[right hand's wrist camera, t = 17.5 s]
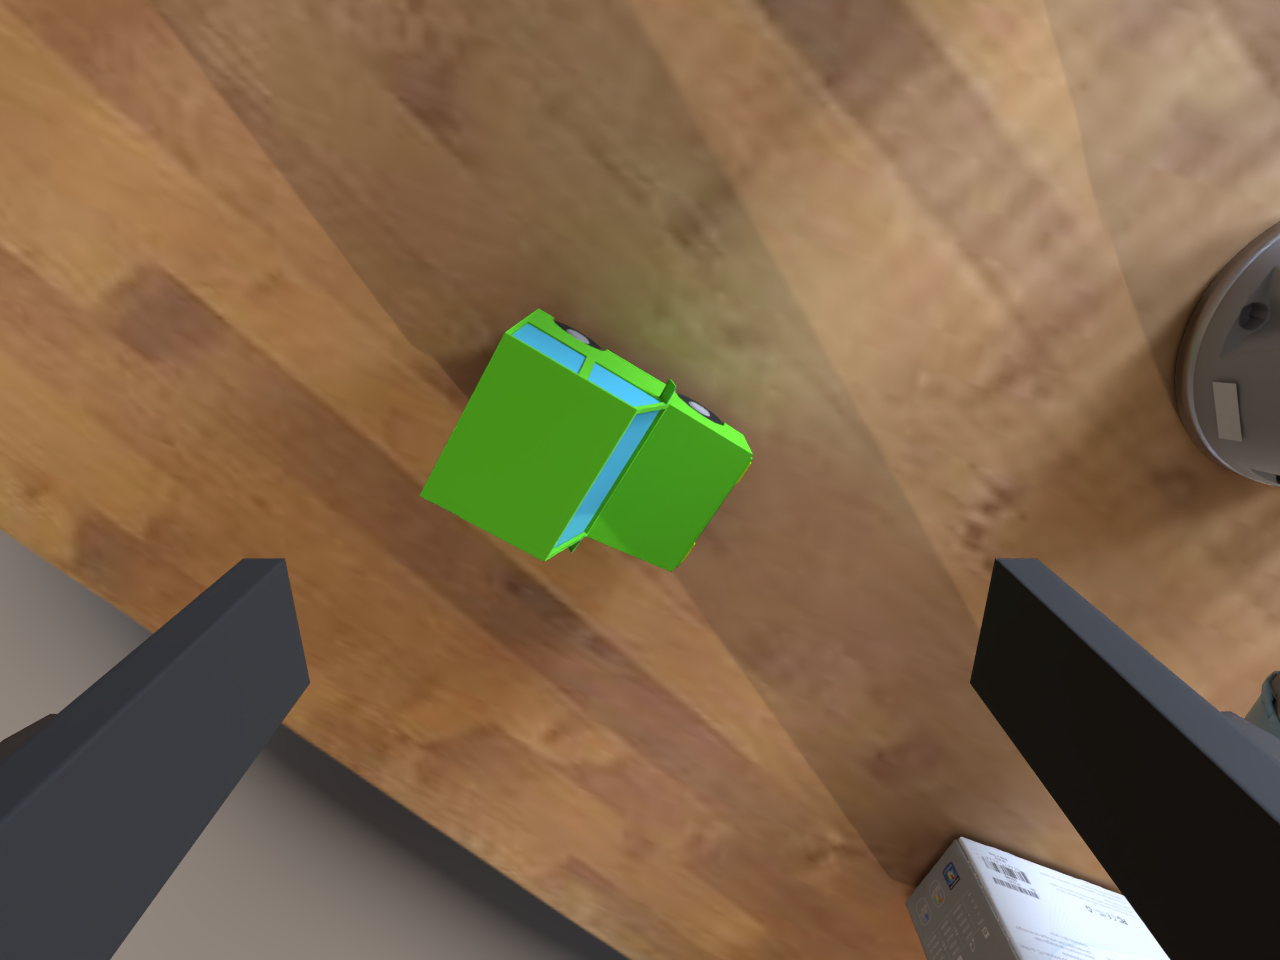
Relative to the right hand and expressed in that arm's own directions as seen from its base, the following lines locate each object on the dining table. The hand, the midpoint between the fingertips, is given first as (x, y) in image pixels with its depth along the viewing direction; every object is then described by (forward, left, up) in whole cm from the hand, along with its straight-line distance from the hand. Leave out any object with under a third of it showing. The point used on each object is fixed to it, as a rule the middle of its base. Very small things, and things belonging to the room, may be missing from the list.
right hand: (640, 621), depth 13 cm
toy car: (+3, +2, -26) cm, 27 cm away
